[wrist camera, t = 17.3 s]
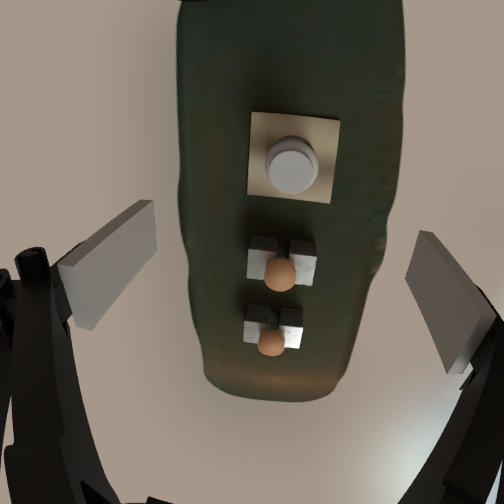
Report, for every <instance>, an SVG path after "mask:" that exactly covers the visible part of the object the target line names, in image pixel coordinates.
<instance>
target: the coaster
mask: <svg viewBox="0 0 504 504" xmlns="http://www.w3.org/2000/svg"><path fill="white" fill-rule="evenodd" d="M339 128H340V121H337V120H330V119H323V118H315V117H307V116H298V115H288V114H277V113H264V112H252V116H251V134H250V152H249V170H248V189H247V194H249V195H260V196H270V197H280V198H289V199H298V200H306V201H315V202H323V203H330V199H331V192H332V185H333V178H334V170H335V163H336V155H337V146H338V137H339ZM288 135H296V136H300V137H302V138H304V139H306V140H307V141H308V142H309V143H310V144H311V145H312V147H313V149H314V151H315V154H316V156H317V159H318V165H319V169H318V174H317V177H316V179H315V181H314V182H313V184H312V185H311V186H310V187H308V188H307V189H305V190H303V191H302V192H299V193H296V194H288V193H284V192H281V191H280V190H278V189H277V188H276V187H275V186H274V185H273V184H272V183H271V182H270V181H269V179H268V177H267V175H266V171H265V160H266V157H267V154H268V152H269V150H270V149H271V147H272V146H273V144H274V143H275V142H276V141H277V140H279V139H280V138H282V137H284V136H288Z"/></svg>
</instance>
